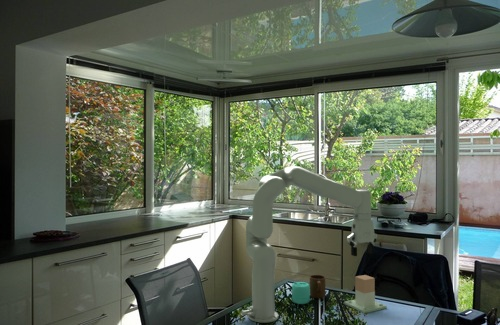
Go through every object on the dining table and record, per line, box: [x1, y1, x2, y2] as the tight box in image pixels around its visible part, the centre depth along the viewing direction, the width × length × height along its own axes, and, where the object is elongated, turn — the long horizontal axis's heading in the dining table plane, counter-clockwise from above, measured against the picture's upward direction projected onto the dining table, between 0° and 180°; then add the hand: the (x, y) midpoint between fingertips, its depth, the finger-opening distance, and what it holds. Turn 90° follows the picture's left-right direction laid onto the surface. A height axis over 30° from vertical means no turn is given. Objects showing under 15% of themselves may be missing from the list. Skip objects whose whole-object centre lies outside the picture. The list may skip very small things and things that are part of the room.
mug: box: [309, 274, 326, 299], centre depth 193 cm, size 12×8×9 cm, turn 178°
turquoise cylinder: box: [291, 281, 311, 305], centre depth 188 cm, size 8×8×8 cm
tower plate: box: [343, 289, 387, 314], centre depth 181 cm, size 13×13×7 cm
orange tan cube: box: [354, 274, 376, 294], centre depth 181 cm, size 6×6×6 cm
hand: (362, 254), depth 181 cm, fingers open, 9 cm apart
